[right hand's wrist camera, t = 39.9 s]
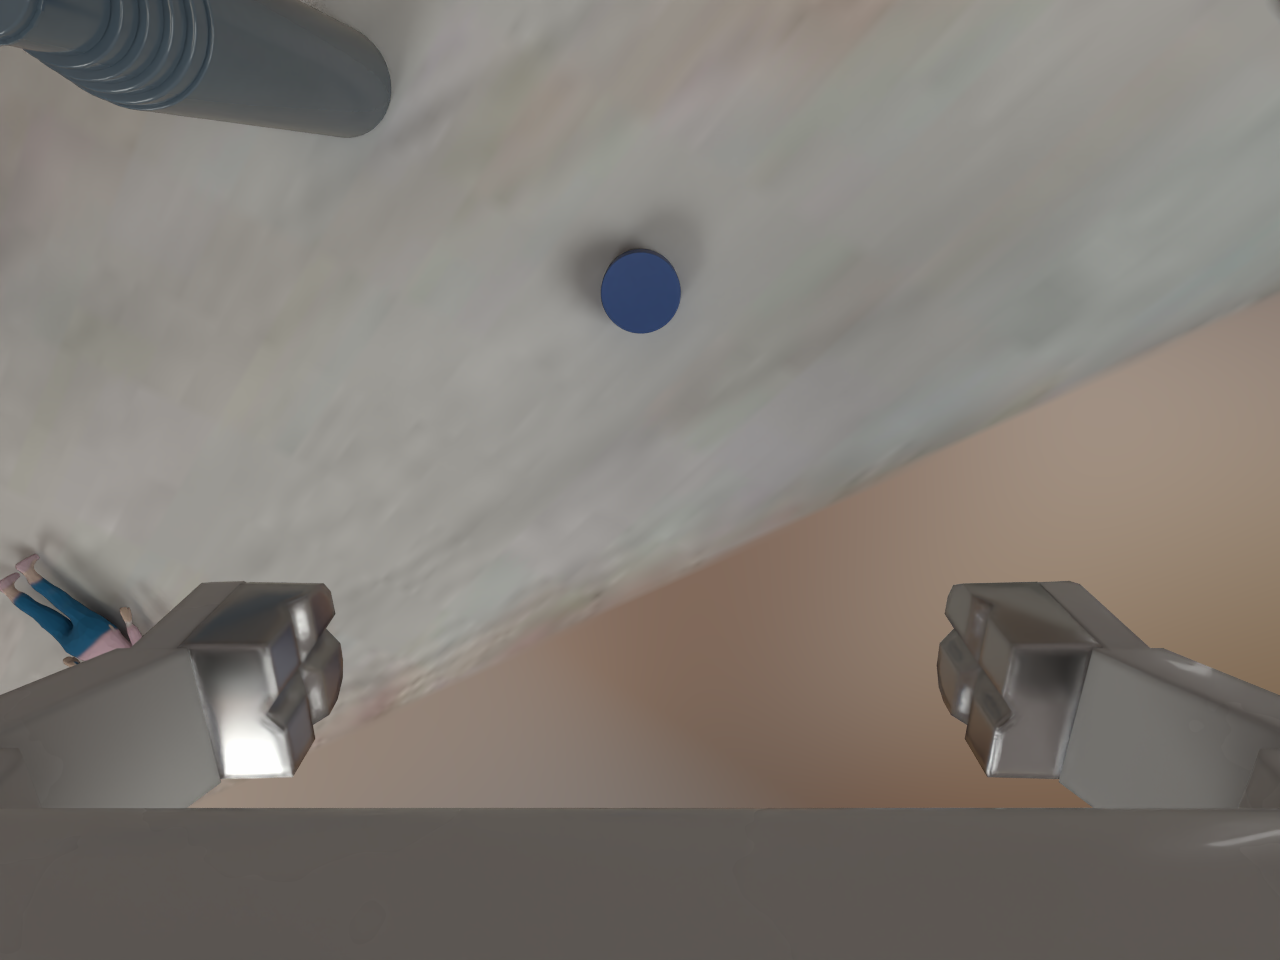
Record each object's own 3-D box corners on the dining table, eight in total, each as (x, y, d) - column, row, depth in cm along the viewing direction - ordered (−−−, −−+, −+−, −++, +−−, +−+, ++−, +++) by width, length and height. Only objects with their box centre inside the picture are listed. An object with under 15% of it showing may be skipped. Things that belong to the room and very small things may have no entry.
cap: (638, 232, 40) (638, 234, 38) (694, 285, 41) (697, 290, 39) (587, 290, 41) (584, 296, 39) (643, 342, 42) (643, 349, 40)
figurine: (8, 584, 48) (189, 742, 52) (-56, 619, 44) (147, 788, 48) (64, 530, 47) (247, 696, 50) (4, 560, 43) (208, 739, 46)
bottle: (395, 36, 37) (70, -150, 16) (387, 147, 38) (86, 111, 18) (290, 13, 36) (-184, -208, 15) (287, 126, 38) (-141, 64, 17)
